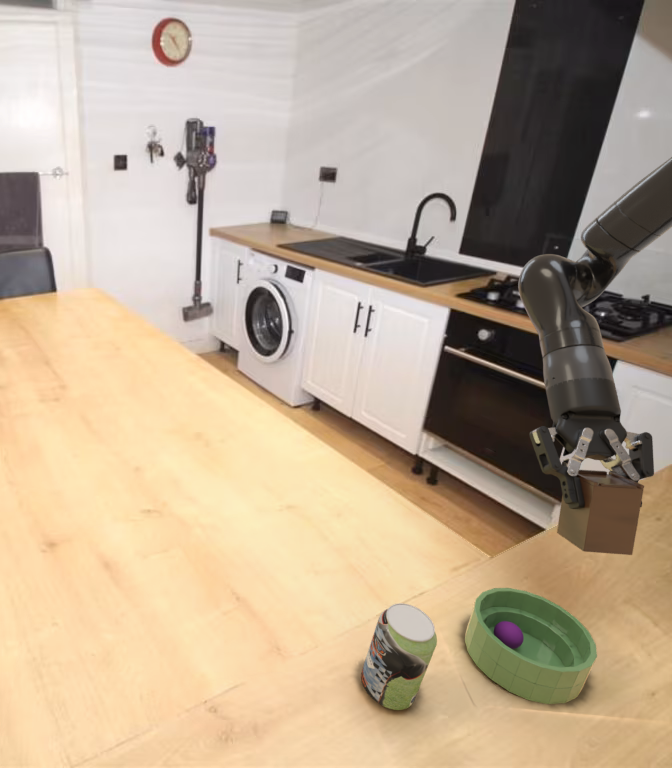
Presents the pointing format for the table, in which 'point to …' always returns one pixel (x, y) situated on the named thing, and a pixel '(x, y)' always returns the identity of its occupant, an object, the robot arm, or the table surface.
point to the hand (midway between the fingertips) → (604, 509)
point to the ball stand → (603, 514)
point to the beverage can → (398, 656)
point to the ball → (509, 634)
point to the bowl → (531, 646)
